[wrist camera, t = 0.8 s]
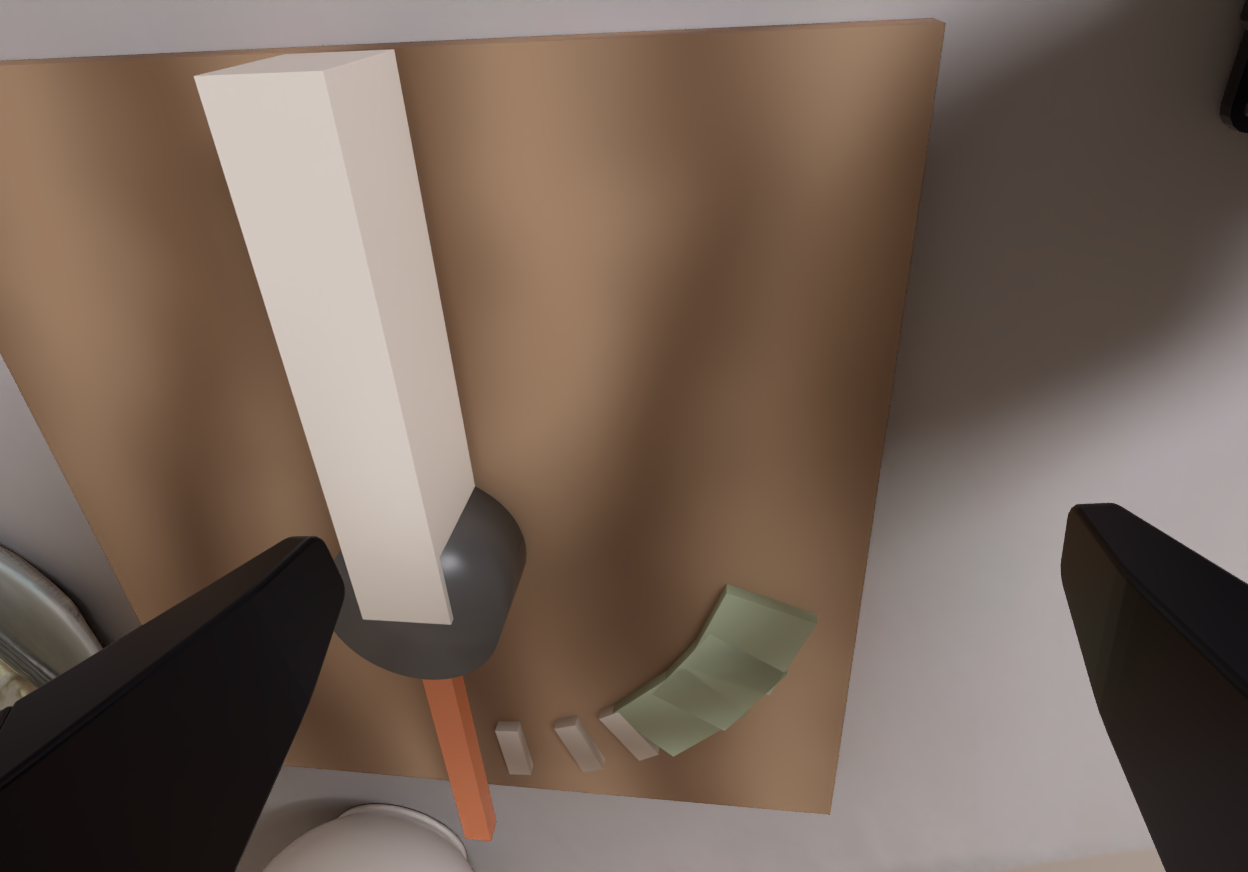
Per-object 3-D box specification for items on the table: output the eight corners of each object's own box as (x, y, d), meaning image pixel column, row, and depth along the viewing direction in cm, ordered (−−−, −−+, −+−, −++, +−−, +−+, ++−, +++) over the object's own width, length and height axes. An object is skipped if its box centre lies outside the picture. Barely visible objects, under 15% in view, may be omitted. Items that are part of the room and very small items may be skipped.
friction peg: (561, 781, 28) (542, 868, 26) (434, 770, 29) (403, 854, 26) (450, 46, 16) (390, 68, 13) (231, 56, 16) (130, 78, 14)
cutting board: (932, 18, 16) (950, 24, 14) (827, 784, 29) (830, 825, 28) (-99, 65, 19) (-163, 74, 18) (227, 733, 32) (205, 767, 31)
